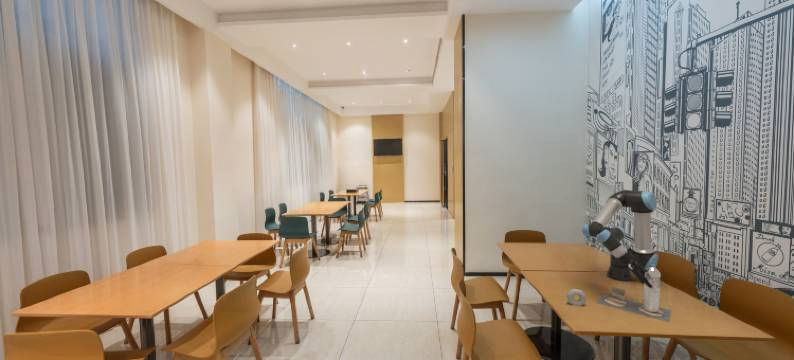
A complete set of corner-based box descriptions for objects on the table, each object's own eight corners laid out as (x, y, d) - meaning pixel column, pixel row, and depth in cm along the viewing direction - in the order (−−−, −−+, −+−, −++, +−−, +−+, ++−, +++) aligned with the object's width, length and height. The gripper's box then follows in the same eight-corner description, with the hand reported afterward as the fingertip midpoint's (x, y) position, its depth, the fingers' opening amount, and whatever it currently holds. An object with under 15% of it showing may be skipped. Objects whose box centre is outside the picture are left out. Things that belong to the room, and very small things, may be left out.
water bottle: (639, 306, 174) (641, 262, 172) (650, 306, 174) (653, 262, 173) (650, 312, 167) (652, 267, 165) (662, 312, 168) (664, 266, 166)
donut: (584, 305, 180) (585, 289, 180) (586, 308, 177) (587, 291, 176) (565, 303, 183) (566, 287, 182) (567, 306, 179) (567, 289, 179)
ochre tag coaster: (640, 303, 181) (640, 293, 180) (665, 309, 173) (665, 299, 173) (636, 311, 170) (637, 301, 170) (663, 318, 163) (663, 307, 163)
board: (602, 295, 194) (603, 293, 194) (671, 312, 172) (671, 310, 172) (596, 304, 182) (596, 302, 181) (669, 324, 159) (669, 322, 159)
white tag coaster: (607, 295, 192) (607, 285, 192) (629, 300, 184) (629, 290, 184) (602, 302, 182) (602, 292, 181) (625, 308, 174) (626, 298, 174)
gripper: (619, 254, 188) (653, 288, 177) (613, 262, 173) (649, 299, 163) (630, 247, 184) (665, 281, 173) (625, 254, 169) (663, 292, 159)
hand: (657, 290), depth 168 cm, fingers closed on water bottle, 7 cm apart
